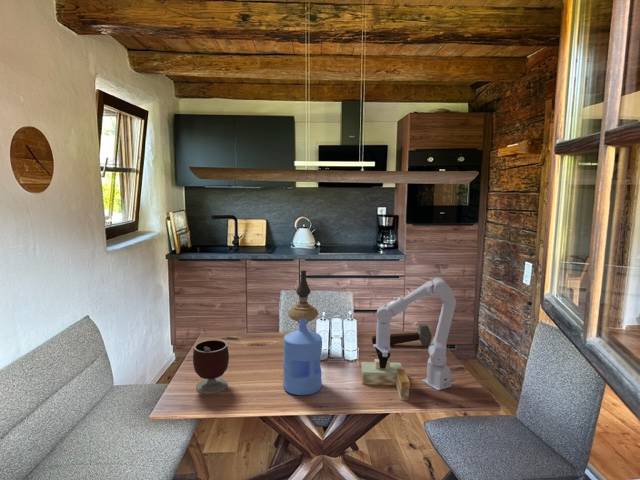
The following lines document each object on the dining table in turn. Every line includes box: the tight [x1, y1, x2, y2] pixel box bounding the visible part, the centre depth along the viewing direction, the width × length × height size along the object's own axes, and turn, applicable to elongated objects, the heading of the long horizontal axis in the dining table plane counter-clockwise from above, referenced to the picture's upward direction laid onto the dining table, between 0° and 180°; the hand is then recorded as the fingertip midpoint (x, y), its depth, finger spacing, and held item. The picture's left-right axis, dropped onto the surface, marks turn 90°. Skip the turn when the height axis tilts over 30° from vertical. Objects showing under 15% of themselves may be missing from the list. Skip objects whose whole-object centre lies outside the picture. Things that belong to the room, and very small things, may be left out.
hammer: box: [371, 323, 433, 348], centre depth 209 cm, size 5×11×30 cm
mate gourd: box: [192, 339, 230, 395], centre depth 162 cm, size 16×14×20 cm
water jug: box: [282, 319, 323, 396], centre depth 163 cm, size 16×16×28 cm
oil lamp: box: [287, 270, 320, 330], centre depth 199 cm, size 15×15×40 cm
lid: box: [360, 358, 404, 376], centre depth 172 cm, size 17×10×5 cm, turn 89°
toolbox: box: [360, 366, 410, 401], centre depth 166 cm, size 17×22×5 cm
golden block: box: [397, 368, 411, 389], centre depth 159 cm, size 3×11×2 cm, turn 179°
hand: (382, 366), depth 172 cm, fingers closed on lid, 3 cm apart
